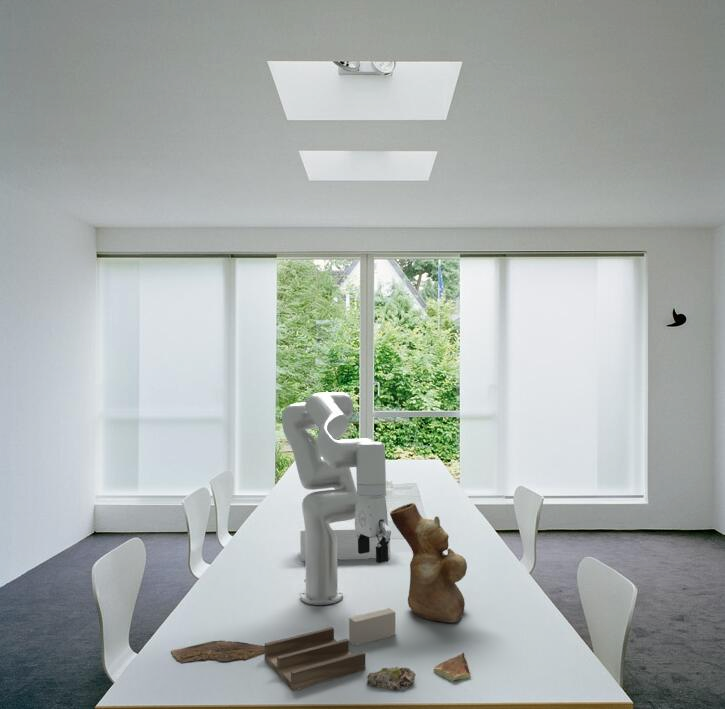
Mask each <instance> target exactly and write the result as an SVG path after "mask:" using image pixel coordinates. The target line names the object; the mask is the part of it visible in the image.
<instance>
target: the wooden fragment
mask: <svg viewBox="0 0 725 709" xmlns="http://www.w3.org/2000/svg"><path fill="white" fill-rule="evenodd" d="M170 653H171V657H172V658H173V659H175V661H176V662H179V663H180V664H184V663H188V662H196V661H200V662H201V661H205V662H206V661H210V660H211V661H214V660H215V661H217V662H229V661H235V660H243V661H247V660H251V659H253V658H256V657H258V656H261V655H263V654H265V645H264V644H253V643H248V642H243V641H229V640H228V641H226V640H221V639H220V640H214V641H213V640H211V641H208V642H203V643H200V644H195V645H191V646H187V647H182V648H178V649H172V650H171V651H170Z"/></svg>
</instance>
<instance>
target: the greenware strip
mask: <svg viewBox="0 0 725 709" xmlns="http://www.w3.org/2000/svg"><path fill="white" fill-rule="evenodd" d="M348 633H349V634H348V636H349V637H348V640H349V643H351V644H352V645H354V646H355V647H356V646H359V645H362V644H366V642H367V643H370V642H374V641H376V640H377V641H378V640H382V639H384V638H389V637H392V635H393V636H396V611H395V610H393V609H392V608H390V607H387V608H384V609H380V610H376V611H371V612H366V613H363V614H359V615H355V616H351V617H348ZM388 636H389V637H388ZM381 638H382V639H381Z"/></svg>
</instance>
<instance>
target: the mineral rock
mask: <svg viewBox="0 0 725 709" xmlns="http://www.w3.org/2000/svg"><path fill="white" fill-rule="evenodd" d="M366 678H367V682H366V684H367V685H370V684H371V686H372V687H373V688H379V689H390V690H391V691H401V690H406V689H408V688H409V686H411V685H413V683H414V681H416V680H415V678H416V673H415V671H414V670H411V669H410V668H409V667H400V668H399V667H398V666H395V667H390V668H389V667H382V668H381V669H380V670H378V671H376V672H375V671H374V672H369V673H368V675H367V676H366Z"/></svg>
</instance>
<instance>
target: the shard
mask: <svg viewBox="0 0 725 709" xmlns="http://www.w3.org/2000/svg"><path fill="white" fill-rule="evenodd" d="M433 672H434V673H435V674H437V675H439V676H442V677H443V678H445V679H447V680H449V681H451V682H454V681H455V680H462V679H464V680H465V679H470V678H471V677H472V675H471V672H470V668H469V665H468V662H467V659H466V657H465V653H464V652H462V653H461V654H458V655H457V656H455V657H450V658H449V659H447V660H444V661H442V662H441V663H439V664H437V665H435V666H434V667H433Z"/></svg>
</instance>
